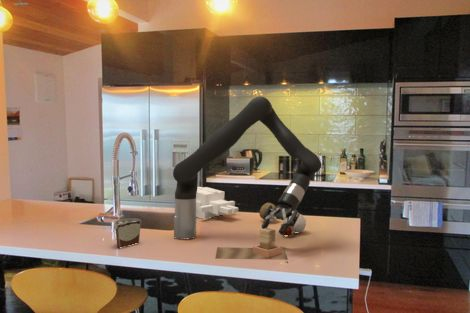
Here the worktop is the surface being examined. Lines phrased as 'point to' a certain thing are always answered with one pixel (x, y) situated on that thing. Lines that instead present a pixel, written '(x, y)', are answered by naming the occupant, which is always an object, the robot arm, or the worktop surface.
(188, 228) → the robot arm
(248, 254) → the walnut board
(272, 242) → the tan tall block
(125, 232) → the food container
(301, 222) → the potion bottle
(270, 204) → the natural sponge
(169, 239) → the worktop surface
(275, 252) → the square tan tray
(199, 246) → the worktop surface
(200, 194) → the blocky voxel creature
